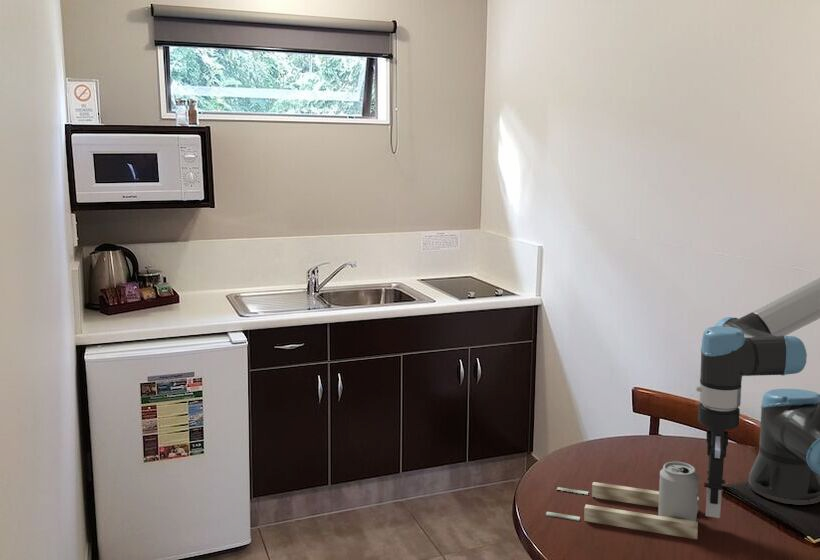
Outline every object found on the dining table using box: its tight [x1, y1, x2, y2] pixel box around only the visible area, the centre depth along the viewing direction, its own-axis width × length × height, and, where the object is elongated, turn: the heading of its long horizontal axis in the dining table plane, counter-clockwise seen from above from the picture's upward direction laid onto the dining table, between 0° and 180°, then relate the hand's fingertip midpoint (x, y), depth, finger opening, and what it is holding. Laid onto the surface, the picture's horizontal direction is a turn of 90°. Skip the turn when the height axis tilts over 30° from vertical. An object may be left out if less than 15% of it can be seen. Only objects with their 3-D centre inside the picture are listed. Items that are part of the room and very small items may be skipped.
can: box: [657, 461, 699, 522], centre depth 150 cm, size 8×8×12 cm
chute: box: [545, 481, 700, 540], centre depth 155 cm, size 30×13×3 cm, turn 68°
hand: (712, 515), depth 148 cm, fingers closed
